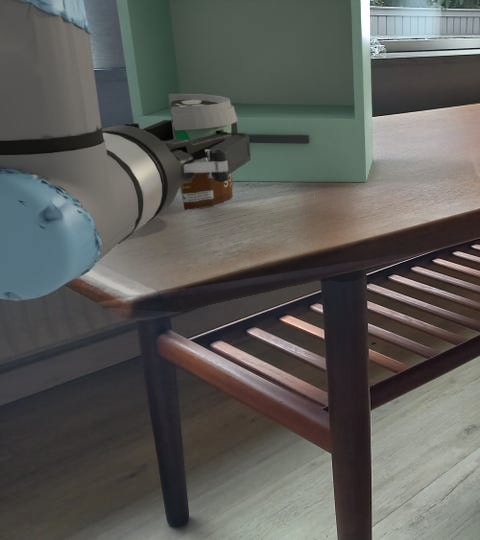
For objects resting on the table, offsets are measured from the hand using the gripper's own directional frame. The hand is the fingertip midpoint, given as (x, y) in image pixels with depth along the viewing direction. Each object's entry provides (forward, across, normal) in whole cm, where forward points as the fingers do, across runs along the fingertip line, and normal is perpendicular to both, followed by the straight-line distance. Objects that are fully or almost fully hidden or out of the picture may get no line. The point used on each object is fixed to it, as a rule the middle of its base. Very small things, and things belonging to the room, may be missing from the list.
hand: (201, 133), depth 73 cm
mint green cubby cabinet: (+21, +2, -8) cm, 22 cm away
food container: (-3, +1, -6) cm, 7 cm away
